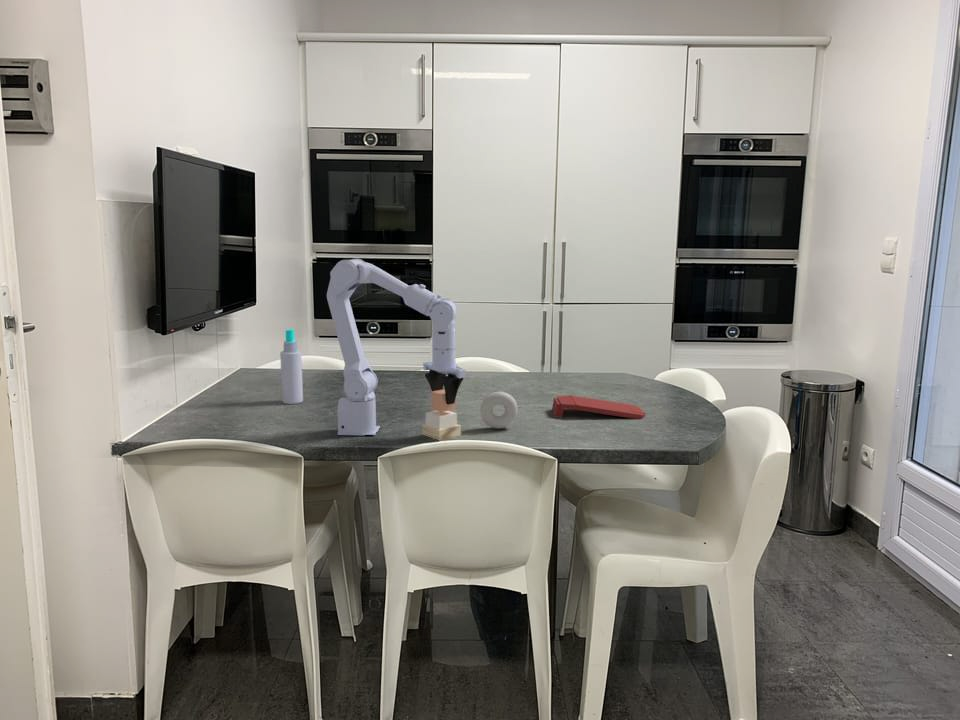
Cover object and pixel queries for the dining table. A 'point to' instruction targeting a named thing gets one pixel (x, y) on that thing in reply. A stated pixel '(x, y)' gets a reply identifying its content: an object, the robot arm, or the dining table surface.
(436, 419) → the cream top block
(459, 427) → the birch base block
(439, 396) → the terracotta cube
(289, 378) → the spray bottle
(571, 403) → the red elongated bent piece
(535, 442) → the dining table surface
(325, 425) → the dining table surface
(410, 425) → the dining table surface
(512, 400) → the donut
